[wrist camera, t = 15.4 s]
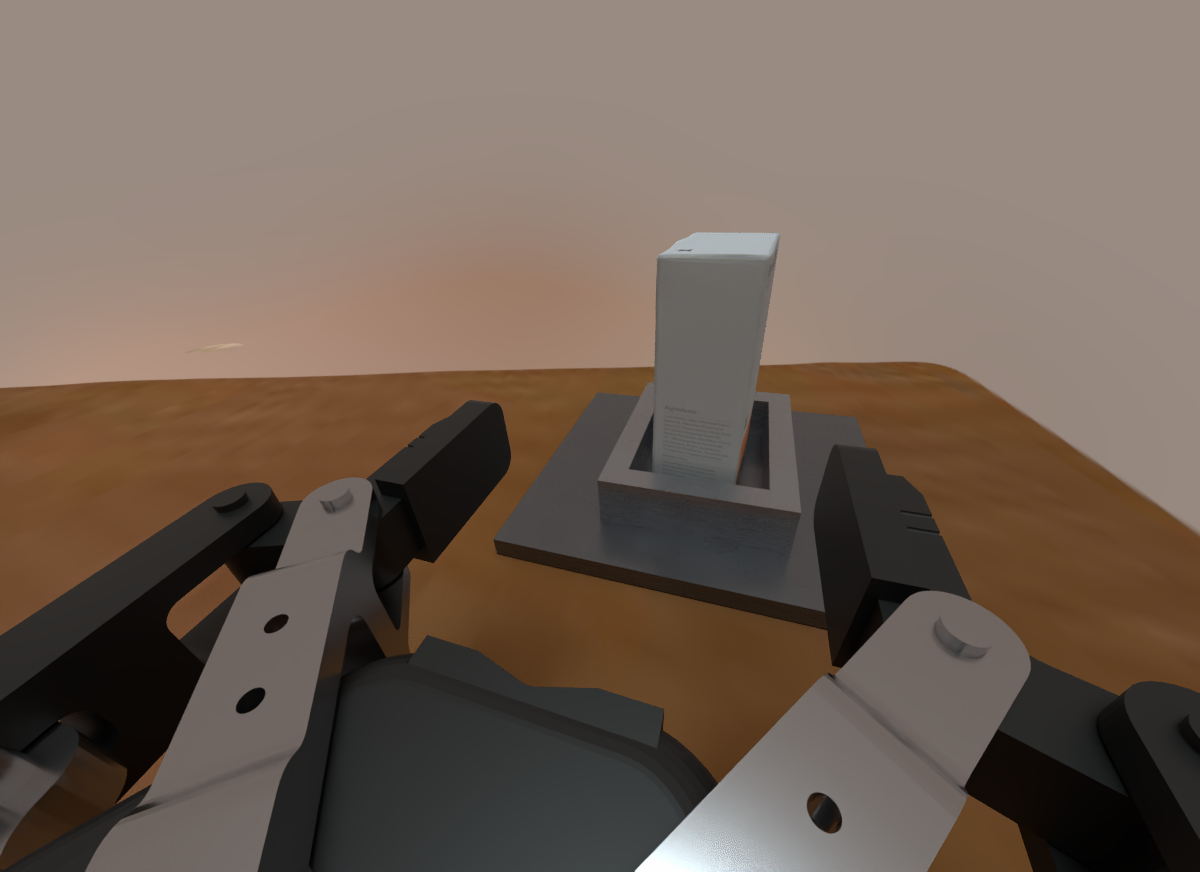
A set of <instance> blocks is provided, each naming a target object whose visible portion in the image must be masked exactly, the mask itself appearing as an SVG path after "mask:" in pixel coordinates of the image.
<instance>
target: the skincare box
mask: <svg viewBox="0 0 1200 872" xmlns="http://www.w3.org/2000/svg"><path fill="white" fill-rule="evenodd" d="M779 238H780V235H779V234H778V233H694V234H692V235H691V236H689V237H688V238H685V239H681V240H679V241H678V242H676V243H674V245H673V246H672V247H671V248H670V249H668V250H667V251H665V252H663V253H662V254H660V255H659V256H658V259H657V280H656V331H655V378H654V420H653V463H652V473H658V474H665V475H672V476H679V477H685V478H692V479H699V480H706V481H712V482H719V483H726V484H733V485H736V483H737V478H738V474H739V470H740V467H741V463H742V460H743V456H744V453H745V449H746V444H747V438H748V432H749V426H750V420H751V414H752V408H753V402H754V396H755V389H756V383H757V377H758V371H759V365H760V359H761V352H762V346H763V340H764V333H765V327H766V321H767V315H768V308H769V302H770V296H771V290H772V283H773V277H774V271H775V264H776V258H777V251H778V245H779Z"/></svg>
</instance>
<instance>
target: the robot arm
mask: <svg viewBox="0 0 1200 872" xmlns="http://www.w3.org/2000/svg"><path fill="white" fill-rule="evenodd" d="M510 460H511V451H510V446H509V441H508V436H507V431H506V426H505V421H504V416H503V411H502V408H501V407H500V405H499V404H497V403H491V402H483V401H474V400H470V401H468V402H466V403H465V404H464V405H463V406H461V407H460V408H459V409H458V410H457V411H455V412H454V413H453V414H452V415H451V416H449V417H448V418H445V419H443V420H441V421H439V422H437V423H435V424H433V425H432V426H430V427H429V428H428V429H427V430H426V431H424V432H423V433H422V434H421V435H419V438H416V439H415V440H413V441H412V442H411V443H410V444H408V447H405V448H404V449H402V450H401V451H400V452H399V453H397V454H396V455H395V456H394V457H393V458H391V459H390V460H389V461H388V462H386V463H385V464H384V465H383V466H382V467H380V468H379V469H378V470H377V471H375V472H374V473H373V474H372V475H371V476H369V477H368V478H367V479H363V478H345V479H340V480H336V481H333V482H331V483H328V484H326V485H323V486H322V487H320V488H318V489H316V490H315V491H313V492H312V493H311V494H309V495H308V496H307V497H306V498H305V499H304V500H303V501H287V502H279V500H278V499H277V497H276V496H275V494H274V492H273V491H272V489H271V487H270V486H269V485H267V484H264V483H248V484H243V485H239V486H236V487H232V488H230V489H227V490H225V491H222V492H220V493H218V494H216V495H214V496H213V497H211V498H209V499H208V500H206V501H205V502H203V503H202V504H200V505H198V506H197V507H195V508H194V509H192V510H191V511H189V512H188V513H186V514H185V515H183V516H182V517H180V518H179V519H177V520H176V521H174V522H173V523H171V524H170V525H168V526H167V527H165V528H164V529H162V530H160V531H159V532H157V533H156V534H154V535H153V536H151V537H150V538H148V539H147V540H145V541H144V542H142V543H141V544H139V545H138V546H136V547H135V548H133V549H132V550H130V551H129V552H127V553H126V554H124V555H122V556H121V557H119V558H118V559H116V560H115V561H113V562H112V563H110V564H109V565H107V566H106V567H104V568H103V569H101V570H100V571H98V572H97V573H95V574H94V575H92V576H91V577H89V578H88V579H86V580H84V581H83V582H81V583H80V584H78V585H77V586H75V587H74V588H72V589H71V590H69V591H68V592H66V593H65V594H63V595H62V596H60V597H59V598H57V599H56V600H54V601H53V602H51V603H50V604H48V605H46V606H45V607H43V608H42V609H40V610H39V611H37V612H36V613H34V614H33V615H31V616H30V617H28V618H27V619H25V620H24V621H22V622H21V623H19V624H18V625H16V626H15V627H13V628H12V629H10V630H8V631H7V632H5V633H4V634H2V635H1V636H0V872H927V870H928V869H929V867H930V865H931V863H932V862H933V860H934V858H935V856H936V855H937V853H938V851H939V849H940V848H941V846H942V844H943V842H944V841H945V839H946V837H947V835H948V833H949V832H950V830H951V828H952V826H953V825H954V823H955V821H956V819H957V818H958V816H959V814H960V812H961V810H962V808H963V806H964V804H965V802H966V799H967V796H968V794H969V795H971V796H972V797H974V798H976V799H977V800H979V801H981V802H982V803H984V804H986V805H987V806H989V807H991V808H992V809H994V810H996V811H997V812H999V813H1001V814H1002V815H1004V816H1006V817H1007V818H1009V819H1011V820H1012V821H1014V822H1016V823H1017V824H1018V826H1019V829H1020V832H1021V836H1022V839H1023V842H1024V845H1025V848H1026V851H1027V854H1028V857H1029V860H1030V863H1031V866H1032V869H1033V872H1200V693H1198V692H1195V691H1193V690H1190V689H1187V688H1184V687H1181V686H1177V685H1174V684H1169V683H1164V682H1154V681H1147V682H1139V683H1136V684H1134V685H1132V686H1131V687H1130V688H1128V689H1127V690H1126V691H1125V692H1123V693H1122V694H1121V695H1120V696H1118V695H1116V694H1113V693H1111V692H1109V691H1106V690H1104V689H1102V688H1099V687H1097V686H1095V685H1093V684H1090V683H1088V682H1086V681H1083V680H1081V679H1079V678H1076V677H1074V676H1072V675H1070V674H1067V673H1065V672H1063V671H1060V670H1058V669H1056V668H1053V667H1051V666H1049V665H1047V664H1045V663H1043V662H1041V661H1039V660H1036V659H1035V658H1033V657H1031V656H1029V654H1028V652H1027V650H1026V648H1025V646H1024V644H1023V643H1022V642H1021V640H1020V639H1019V637H1018V636H1017V635H1016V634H1015V633H1014V632H1013V630H1012V629H1011V628H1010V627H1009V626H1008V625H1006V624H1005V623H1004V622H1003V621H1002V620H1001V619H999V618H998V617H997V616H996V615H994V614H993V613H991V612H990V611H988V610H987V609H985V608H984V607H982V606H980V605H978V604H976V603H974V602H972V600H971V598H970V596H969V594H968V591H967V589H966V587H965V585H964V583H963V581H962V579H961V576H960V574H959V572H958V570H957V568H956V566H955V563H954V561H953V559H952V557H951V555H950V553H949V551H948V548H947V546H946V544H945V542H944V540H943V538H942V536H939V532H940V531H939V529H938V527H937V525H936V523H935V520H934V519H932V518H931V516H932V514H931V512H930V510H929V508H928V505H927V503H926V501H925V499H924V497H923V495H922V494H921V493H920V492H919V491H918V490H917V489H916V488H915V487H913V486H912V485H911V484H910V483H909V482H908V481H907V480H906V479H905V478H904V477H902V476H894V475H887V474H886V472H885V469H884V467H883V464H882V461H881V459H880V456H879V454H878V451H877V450H876V449H873V448H864V447H856V446H847V445H839V444H835V445H834V446H833V447H832V449H831V452H830V455H829V458H828V462H827V465H826V468H825V472H824V475H823V478H822V482H821V485H820V488H819V492H818V495H817V499H816V503H815V508H814V522H813V523H814V534H815V541H816V549H817V556H818V564H819V571H820V579H821V586H822V594H823V601H824V609H825V616H826V624H827V631H828V639H829V646H830V654H831V661H832V666H836V667H840V668H841V669H840V670H839V671H838V672H837V673H836V674H835V675H834V676H833V675H831V674H830V673H827V674H826V675H824V676H823V677H821V678H820V679H819V680H818V681H817V682H816V683H815V684H814V685H813V686H812V687H811V688H810V689H809V690H808V691H807V692H806V693H805V694H804V695H803V696H802V697H801V698H800V699H799V700H798V701H797V702H796V703H795V704H794V705H793V707H792V708H791V709H790V710H789V711H788V712H787V713H786V714H785V715H784V716H783V717H782V718H781V719H780V720H779V721H778V722H777V723H776V724H775V725H774V726H773V727H772V728H771V729H770V731H769V732H768V733H767V734H766V735H765V736H764V737H763V738H762V739H761V740H760V741H759V742H758V743H757V744H756V745H755V746H754V747H753V748H752V749H751V750H750V751H749V752H748V753H747V755H746V756H745V757H744V758H743V759H742V760H741V761H740V762H739V763H738V764H737V765H736V766H735V767H734V768H733V769H732V770H731V771H730V772H729V773H728V774H727V775H726V776H725V778H724V779H723V780H722V781H721V782H720V783H719V784H718V783H717V782H716V780H715V779H714V778H713V776H712V775H711V774H710V772H709V771H708V770H707V769H706V767H705V766H704V765H703V764H702V763H701V762H700V761H699V760H698V759H697V758H696V757H695V756H694V755H693V754H692V753H691V752H690V751H689V750H688V749H687V748H686V747H684V746H683V745H682V744H681V743H680V742H679V741H677V740H676V739H675V738H673V737H672V736H670V735H669V734H667V733H666V732H665V731H663V720H664V709H662V708H659V707H656V706H653V705H650V704H646V703H643V702H640V701H637V700H634V699H630V698H627V697H624V696H621V695H617V694H614V693H611V692H608V691H605V690H601V689H598V688H564V687H533V686H528V685H525V684H524V683H522V682H521V681H519V680H518V679H516V678H515V677H514V676H512V675H511V674H509V673H508V672H507V671H505V670H504V669H502V668H501V667H500V666H498V665H497V664H495V663H494V662H493V661H491V660H490V659H488V658H487V657H486V656H484V655H483V654H482V653H480V652H479V651H476V650H473V649H470V648H467V647H464V646H460V645H457V644H454V643H451V642H448V641H444V640H441V639H438V638H435V637H431V636H428V635H427V636H426V638H425V639H424V640H423V642H422V643H421V645H420V646H419V648H418V649H417V650H416V652H415V653H411V654H410V652H409V645H408V628H409V602H410V571H409V568H408V566H407V565H408V564H409V563H410V562H411V560H412V559H413V558H416V559H420V560H424V561H428V562H431V563H434V562H435V561H436V560H437V558H438V557H439V556H440V555H441V553H442V552H443V551H444V550H445V548H446V547H447V546H448V545H449V543H450V542H451V541H452V540H453V538H454V537H455V536H456V535H457V534H458V532H459V531H460V530H461V529H462V527H463V526H464V525H465V524H466V522H467V521H468V520H469V519H470V517H471V516H472V515H473V514H474V512H475V511H476V510H477V509H478V507H479V506H480V505H481V504H482V503H483V501H484V500H485V499H486V498H487V496H488V495H489V494H490V493H491V491H492V490H493V489H494V488H495V486H496V485H497V484H498V483H499V481H500V480H501V479H502V478H503V476H504V475H505V474H506V472H507V471H508V468H509V465H510ZM224 563H225V564H226V566H227V567H228V568H229V569H230V571H231V572H232V573H233V575H234V576H235V577H236V578H237V580H238V581H239V582H240V583H241V587H239V588H238V589H237V590H236V591H235V592H234V593H233V594H231V595H230V596H229V597H228V598H227V599H226V600H225V601H224V602H222V603H221V604H220V605H219V606H218V607H217V608H216V609H214V610H213V611H212V612H211V613H210V614H209V615H208V616H206V617H205V618H204V619H203V620H202V621H201V622H200V623H199V624H197V625H196V626H195V627H194V628H193V629H192V630H191V631H189V632H188V633H187V634H186V635H185V636H184V637H183V638H181V639H180V640H179V639H178V638H177V637H176V636H174V635H173V634H172V633H171V632H170V631H169V629H168V627H167V623H166V621H167V616H168V613H169V611H170V610H171V608H172V607H173V606H174V604H175V603H176V602H177V601H179V600H180V599H181V598H182V597H183V596H185V595H186V594H187V593H188V592H190V591H191V590H192V589H193V588H195V587H196V586H197V585H198V584H200V583H201V582H202V581H203V580H204V579H206V578H207V577H208V576H209V575H211V574H212V573H213V572H214V571H216V570H217V569H218V568H219V567H221V566H222V565H223V564H224ZM60 719H61V720H60ZM58 720H60V722H58ZM167 749H168V750H167ZM166 750H167V752H166V754H165V757H164V759H163V761H162V763H161V766H160V768H159V770H158V772H157V774H156V777H155V779H154V781H153V783H152V784H151V785H150V786H148V787H146V788H144V789H143V790H141V791H139V792H137V793H136V794H134V795H132V796H130V797H129V798H127V799H125V800H123V801H122V802H120V803H118V804H116V803H117V802H118V801H119V800H120V799H121V798H122V797H123V796H124V795H125V794H126V793H127V792H128V790H129V789H130V788H131V787H132V786H133V785H134V784H135V783H136V782H137V781H138V780H139V779H140V778H141V777H142V776H143V775H144V774H145V773H146V771H147V770H148V769H149V768H150V767H151V766H152V765H153V764H154V763H155V762H156V761H157V760H158V759H159V758H160V757H161V756H162V755H163V754H164V752H165V751H166Z"/></svg>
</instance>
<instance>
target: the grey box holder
mask: <svg viewBox="0 0 1200 872" xmlns="http://www.w3.org/2000/svg"><path fill="white" fill-rule="evenodd" d="M653 420H654V383H648V384H647V386H646V387H645V389H644V391H643V393H642V395H641V397H638V396H627V395H617V394H607V393H597V394H596V396H595V397H594V398H593V400H592V401H591V403H590V404H589V405H588V407H587V408H586V410H585V411H584V413H583V414H582V415H581V417H580V418H579V420H578V421H577V422H576V424H575V425H574V427H573V428H572V429H571V431H570V432H569V434H568V435H567V436H566V438H565V439H564V441H563V442H562V444H561V445H560V446H559V448H558V449H557V451H556V452H555V453H554V455H553V456H552V458H551V459H550V460H549V462H548V463H547V465H546V466H545V467H544V469H543V470H542V472H541V473H540V475H539V476H538V477H537V479H536V480H535V482H534V483H533V484H532V486H531V487H530V489H529V490H528V491H527V493H526V494H525V496H524V497H523V498H522V500H521V501H520V503H519V504H518V506H517V507H516V508H515V510H514V511H513V513H512V514H511V515H510V517H509V518H508V520H507V521H506V522H505V524H504V525H503V527H502V528H501V529H500V531H499V532H498V534H497V535H496V537H495V538H494V543H495V547H496V550H497V554H501V555H505V556H510V557H514V558H518V559H523V560H527V561H531V562H536V563H540V564H544V565H549V566H553V567H558V568H562V569H566V570H571V571H575V572H579V573H584V574H588V575H592V576H597V577H601V578H605V579H610V580H614V581H618V582H623V583H627V584H631V585H636V586H640V587H644V588H649V589H653V590H658V591H662V592H666V593H671V594H675V595H679V596H684V597H688V598H692V599H697V600H701V601H705V602H710V603H714V604H718V605H723V606H727V607H731V608H736V609H740V610H745V611H749V612H753V613H758V614H762V615H766V616H771V617H775V618H779V619H784V620H788V621H792V622H797V623H801V624H805V625H810V626H814V627H818V628H823V629H827V624H826V616H825V609H824V601H823V594H822V586H821V579H820V571H819V564H818V556H817V549H816V541H815V534H814V523H813V522H814V508H815V503H816V499H817V495H818V492H819V488H820V485H821V482H822V478H823V475H824V472H825V468H826V465H827V462H828V458H829V455H830V452H831V449H832V447H833V446H834V445H835V444H839V445H847V446H856V447H864V448H866V445H865V442H864V439H863V436H862V433H861V430H860V427H859V424H858V422H857V419H856V417H847V416H836V415H826V414H816V413H805V412H795V411H791V405H790V395H787V394H776V393H764V392H755V396H754V402H753V408H752V414H751V420H750V426H749V432H748V438H747V444H746V449H745V453H744V456H743V460H742V463H741V467H740V470H739V474H738V478H737V483H736V485H733V484H726V483H719V482H712V481H706V480H699V479H692V478H685V477H679V476H672V475H665V474H658V473H652V463H653Z"/></svg>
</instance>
